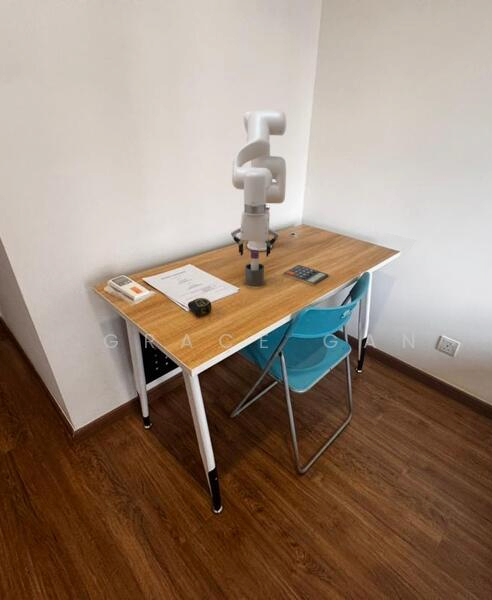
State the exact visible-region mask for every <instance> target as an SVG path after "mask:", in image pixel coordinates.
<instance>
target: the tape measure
mask: <svg viewBox="0 0 492 600" xmlns="http://www.w3.org/2000/svg"><path fill="white" fill-rule="evenodd" d="M187 307H188V309H189V310H190V311H191V312H192V313H193V314H194V315H195V316H196V317H200V316H201V315H202V316H203V315H207V314H209V312H211V310H212V302H211V301H210V299H209V298H205V297H198V298H195V299H193V300H191V301H189V302H188V303H187Z"/></svg>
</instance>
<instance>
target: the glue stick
mask: <svg viewBox="0 0 492 600" xmlns="http://www.w3.org/2000/svg"><path fill="white" fill-rule="evenodd" d="M259 262H260V251H258V250H250V263H251V270H259V264H260V263H259Z"/></svg>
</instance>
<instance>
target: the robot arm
mask: <svg viewBox="0 0 492 600" xmlns="http://www.w3.org/2000/svg"><path fill="white" fill-rule="evenodd" d="M243 125H244V130H245V132H246V143H245V144H244V145H242V146H241V147H240V148H239V150H238V151H237V152H236V153H235V155H234V157H233V161H232V169H231V182H232V186H233V187H234V188H235V189H237V190H243V211H242V212H241V219H240V227H239V228H236V229H235V230H232V231H231V233H230V236H231V237H232V239H233V241H234V242H235V243H236V244H237V245H238V253H240V257H241V256H243V255H244V242H245V241H246V242H247V243H246V247H247V249H249V250H250V251H252V250H258V251H259V252H264V251H265V252H266V253H265V254H266V258H268V257H269V255H270V254H271V249H272V248H273V245H274V244H275V243H276V241H277V239H278V237H279V235H280V234H279V233H278V232H276V231H275V230H272V229H271V228H270V209H271V208H270V207H271V206H270V205H267V204H282V203H284V201H285V200H286V199H285V198H286V185H287V162H286V160H285V158H284V157H282V156H276V155H275V156H274V155H273V156H272V155H271V142H270V136H284V134H286V129H287V116H286V113H285V112H284V111H282V110H279V109H255V110H250V111H247V112H245V113H244V115H243ZM248 162H250V166H244V165H245V164H246V163H248ZM273 180H275V181H273ZM239 233H240V238H239V237H238V236H237V235H238V234H239ZM270 235H272V236H273V237H272V238H271V239H270Z"/></svg>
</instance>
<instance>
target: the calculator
mask: <svg viewBox="0 0 492 600" xmlns="http://www.w3.org/2000/svg"><path fill="white" fill-rule="evenodd" d="M283 274H284V275H286V276H289V277H293V278H295V279H298V280H301V281H304V282H307V283H309V284H312V285H313V286H315V285H317V284H318V283H319V282H321V281H323V280H324V279H326V278H327V277H329V274H328V273H326V272H323V271H319V270H317V269H313V268H310V267H307V266H304V265H301V264H298V265H296V266H294V267H292V268H290V269H288V270H286V271H284V272H283Z"/></svg>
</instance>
